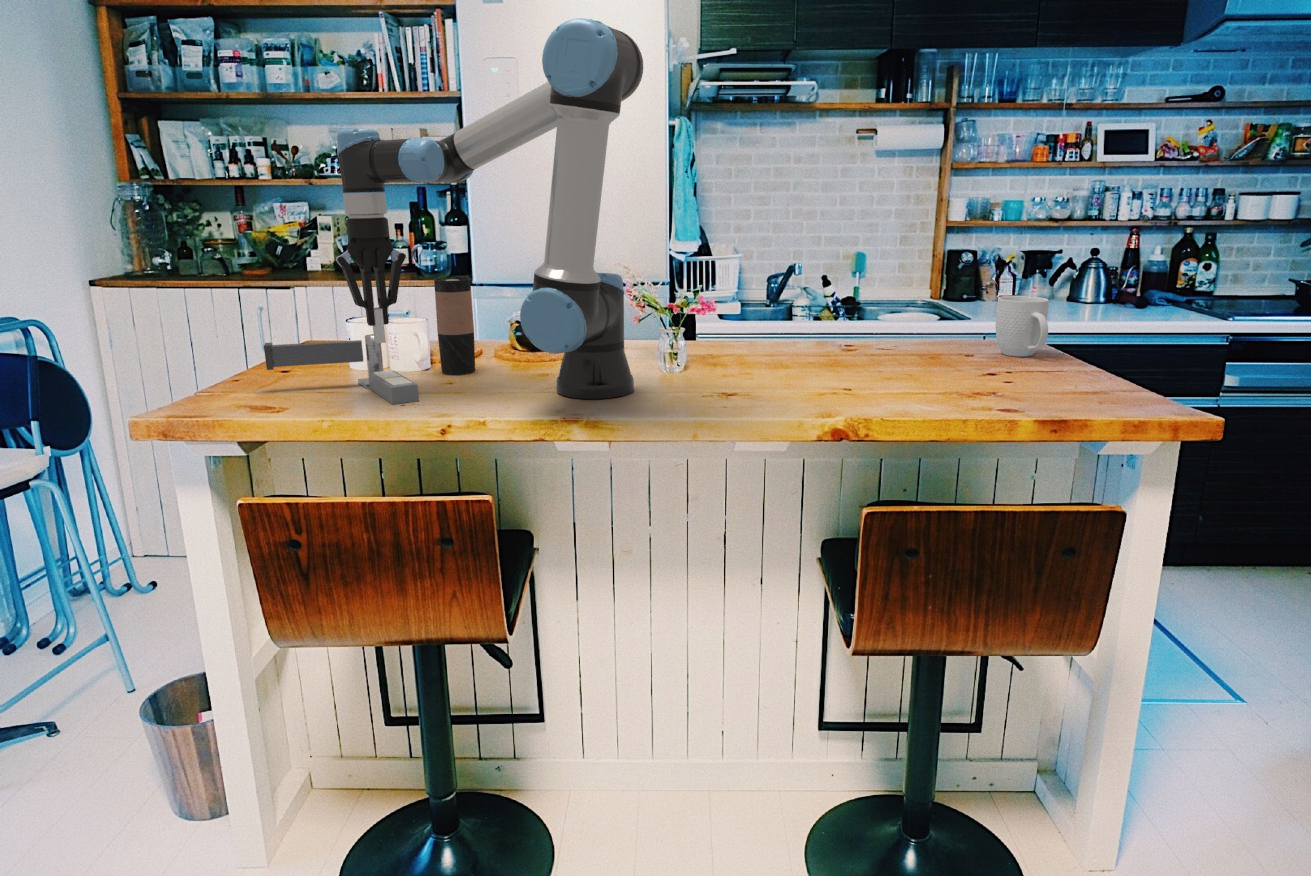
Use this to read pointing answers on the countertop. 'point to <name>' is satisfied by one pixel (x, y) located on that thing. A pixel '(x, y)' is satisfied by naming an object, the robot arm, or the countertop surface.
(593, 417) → the countertop surface
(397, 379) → the label block
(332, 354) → the bar
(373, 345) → the post
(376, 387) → the label block
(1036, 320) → the mug
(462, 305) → the travel mug
